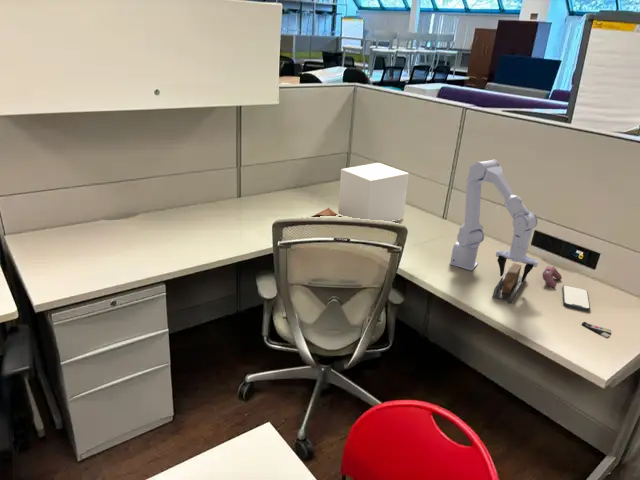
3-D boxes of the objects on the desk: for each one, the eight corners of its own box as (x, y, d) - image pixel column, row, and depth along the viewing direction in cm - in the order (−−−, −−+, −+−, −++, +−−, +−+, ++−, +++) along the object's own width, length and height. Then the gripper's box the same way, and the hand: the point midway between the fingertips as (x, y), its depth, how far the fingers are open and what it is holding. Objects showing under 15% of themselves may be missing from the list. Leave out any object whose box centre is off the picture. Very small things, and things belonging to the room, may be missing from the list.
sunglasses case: (323, 227, 231) (317, 214, 230) (312, 231, 235) (306, 218, 234) (341, 216, 245) (336, 204, 244) (330, 220, 249) (325, 208, 249)
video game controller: (550, 280, 196) (546, 263, 195) (562, 279, 193) (558, 262, 192) (543, 289, 189) (538, 272, 188) (555, 288, 186) (551, 270, 185)
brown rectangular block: (501, 291, 180) (505, 274, 177) (509, 279, 190) (513, 262, 187) (510, 294, 179) (514, 277, 176) (517, 281, 188) (521, 265, 185)
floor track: (492, 297, 178) (494, 289, 177) (507, 274, 195) (509, 267, 194) (511, 303, 175) (514, 295, 173) (525, 280, 192) (527, 272, 190)
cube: (374, 207, 261) (378, 162, 251) (403, 220, 245) (409, 173, 235) (337, 216, 247) (341, 169, 237) (366, 230, 231) (370, 180, 221)
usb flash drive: (580, 325, 164) (581, 323, 164) (589, 321, 167) (590, 318, 167) (605, 339, 158) (606, 336, 157) (614, 334, 160) (615, 331, 160)
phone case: (561, 288, 188) (562, 307, 175) (562, 284, 188) (563, 303, 174) (586, 293, 185) (589, 313, 172) (587, 289, 185) (591, 309, 171)
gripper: (496, 243, 178) (489, 276, 183) (538, 254, 171) (529, 288, 176) (501, 237, 183) (494, 269, 189) (542, 247, 176) (533, 280, 182)
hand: (511, 278), depth 183 cm, fingers open, 7 cm apart
